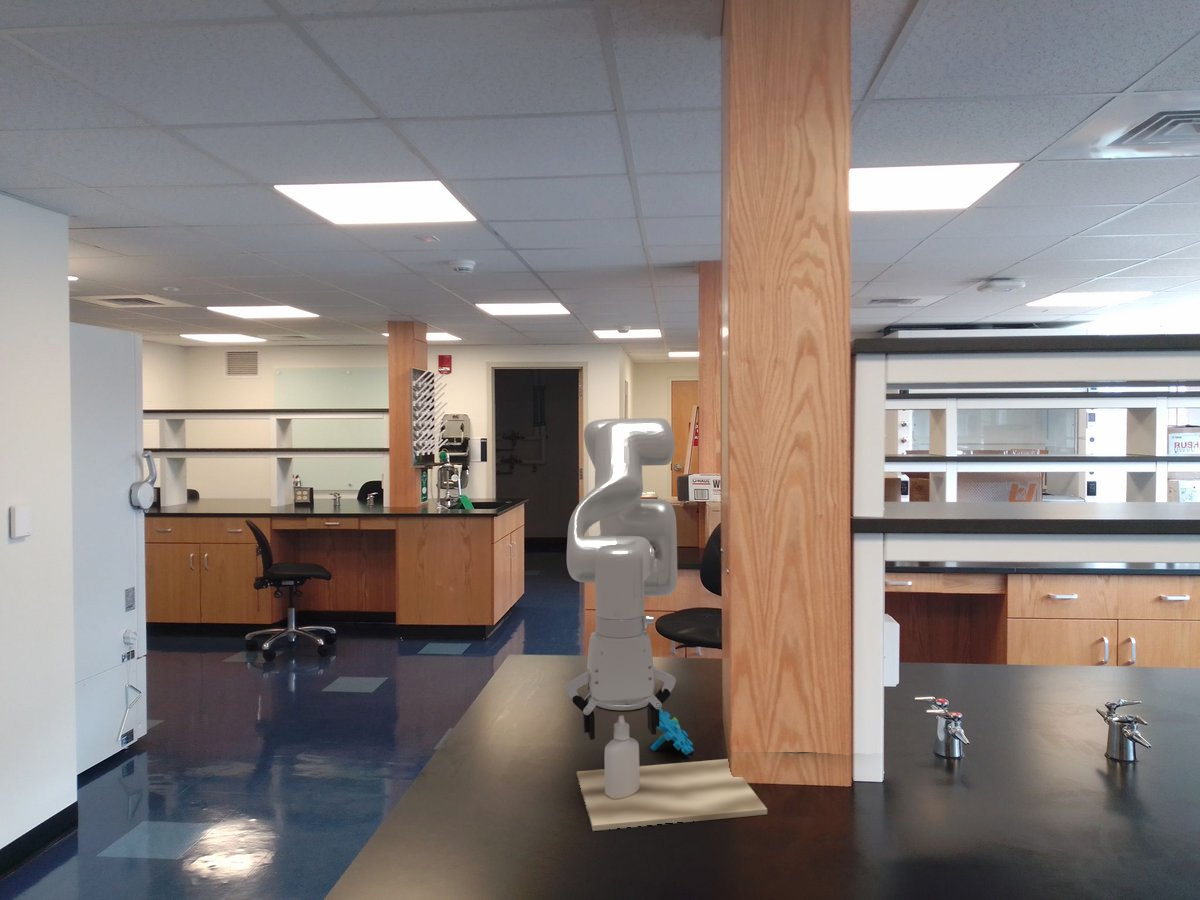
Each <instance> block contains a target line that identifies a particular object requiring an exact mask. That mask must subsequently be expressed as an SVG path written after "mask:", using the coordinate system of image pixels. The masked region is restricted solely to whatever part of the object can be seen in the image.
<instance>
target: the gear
mask: <svg viewBox="0 0 1200 900" xmlns="http://www.w3.org/2000/svg"><path fill="white" fill-rule="evenodd" d="M656 729H657V730H660V731H662V733H661V734H660V736H659V737H658V739H657V740H655V742H653V744H652V745H650V749H651V750H652V751H653V752H656V751H657V750H658V749H659V748H660V746H661V745H663V744H664V743H665V742H666V741H667V742H670V740H672V741H673V742H674V743H673V744H672V746H673V747H674V748H675V749H676V750H677V751H680V750H681V752H682V753H683V754H684V755H686V756H687V755H689V754H690V755H691V754H692V753H693V752H694V748H693V742H692V741H691V740H690V739H689V738H688V737H689V735H688V734H687V732H686V731H685V730H684V729H683V730H682V729H681V725H680V723H679V720H678V719H677V718H676V717H675V716H673V718H672V719H671V715H670V713H669V712H667V711H664V710H663V709H662V707H661V708H660V709H659V727H656Z"/></svg>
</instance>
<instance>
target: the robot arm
mask: <svg viewBox="0 0 1200 900" xmlns="http://www.w3.org/2000/svg"><path fill="white" fill-rule="evenodd" d="M674 436H675V435H674V431H673V428H672V425H671V424H670V423H669V421H668V420H666V419H665V418H657V417H656V418H649V417H648V418H603V419H596V420H593V421H591V422H589V423H587V425H586V426H585V428H584V429H583V439H584V444H585V445H584V446H585V448H586V451H587V454H588V457H589V459H590V461H591V463H592V465H593V468H594V470H595V471H594V488H593V489H591V491H589V492H588V493H587V494H586V495H584V497H583V498H582V499H581V500H580V502H579V503H578V504H577V505H576V507H575V509H574V510H573V511H572V513H571V516H570V519H569V522H568V527H567V542H566V566H567V571H568V574H569V576H570V578H572V580H574V581H576V582H579V583H592V584H593V583H594V588H595V589H594V594H595V597H594V598H595V599H594V600H595V601H594V602H595V605H594V606H595V631H593V632H591V633H590V637H589V641H588V642H589V643H588V649H587V662H586V663H587V668H586V670H587V671H585V672H583V673H581V674H580V675H578V676H576V677H574V678H573V679H571V680H570V681H568V682H566V683H565V685H564V687H565V690H566V692H567V694H568V696H569V698H570V699H571V701H572V702H573V704H574V705H575V706H576V707H577V708H578V709H579V710H580V711H581V712H582V713H583V732H584V733H585V734H586V733H587V734H588V738H589V740H590V741H594V740H595V739H596V728H595V726H596V725H595V713H594V709H595V708H596V707H599V708H601V709H605V710H610V711H611V710H612V711H633V710H634V711H635V710H639V709H644V708H645V707H647V709H646V712H647V728H648V731H649V732H650V734H651V735H652V736H654V735H655V736H656V735H657V727H659V709H660V708H661V709H662V707H663V705H664V704H665V702H666V701H667V700H668V699H669V697H670V696H671V693H672V691H673V690H674V687H675V684H676V683H677V679H676V677H675V676H674V675H672V674H670V673H668V672H666V671H663V670H662V669H659V668H657V667H655V666H654V658H653V657H654V656H653V650H652V644H651V639H650V634H649V631H648V630H647V629H646V628H647V626H648V627H649V626H653V625H654V623H655V620H654V616H653V615H650V616H649V615H647V614H645V597H667V596H671V595H672V594H673V593H675V591H676V589H677V585H678V538H677V535H678V534H677V533H678V532H677V529H678V528H677V518H676V512H675V509H674V507H673V505H672V504H671V503H670V502H669V500H666V499H660V498H649V499H648V498H645V499H644V498H641V497H642V496H643V492H644V487H643V484H644V483H643V466H646V467H647V466H668V465H669V464H671V463H672V460H673V458H674V454H675V444H676V443H675V437H674ZM598 522H599V530H600V535H591V536H590V535H589V536H588V535H586V536H585V534H586V533H587V531H588V529H590V528H591V527H592V526H593V525H594V524H596V523H598ZM654 548H655V549H654ZM655 679H657V680H659V681H662V682H663V685H662V687H661V688H660V689H659V690H658V691H657V692H656V693H655V687H656V686H655V685H656V683H655V681H656V680H655ZM584 685H586V687H587V690H588V693H587V694H586V696H585V698H583V696H581V695H580V694H579V693H578V689H579V688H581V687H583V686H584Z"/></svg>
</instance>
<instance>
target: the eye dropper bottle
mask: <svg viewBox="0 0 1200 900" xmlns="http://www.w3.org/2000/svg"><path fill="white" fill-rule="evenodd" d="M603 757H604V759H603V760H604V769H605V794H606V795H607V796H609V797H611V798H613V799H619V798H624V797H628V796H630V795H633V794H634V793H636V792H637V791H638V790H639V787H640V775H639V766H640V745H639V742H638V741H637V740H636V739H635V738H633V737H630V723H628V722H626V720H625V716H624V715H623V714H620V715H618V720H617V722H615V723H614V724H613V739H611V740H610V741H609V742H608V743H607V744H606V745H605V747H604V756H603Z"/></svg>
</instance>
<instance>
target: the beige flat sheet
mask: <svg viewBox="0 0 1200 900" xmlns="http://www.w3.org/2000/svg"><path fill="white" fill-rule="evenodd" d="M728 759H729V758H723V759H712V760H700V761H688V762H676V763H662V764H654V765H653V764H652V765H639V775H640V787H639V790H638V791H637V792H636V793H634V794H633V795H630V796H628V797H624V798H619V799H613V798H611V797H609V796H607V795H606V794H605V768H604V769H593V770H579V771H576V778H578V779H577V782H578V781H579V782H578V786H579V785H580V786H579V788H581V789H580V792H581V795H583V796H582V799H583V802H585V803H584V806H585V805H586V806H585V809H586V813H587V812H588V813H587V816H588V820H589V823H590V826H591V829H592V832H595V831H607V830H609V829H610V830H618V829H617V828H620V829H628V828H627V827H631V828H639V827H638V826H641V827H648V826H647V825H652V826H658V825H657V824H662V825H666V824H665V823H673V824H678V823H677V822H683V823H692V822H693V821H694V822H701V821H711V820H722V819H732V818H734V819H735V818H744V817H754V816H764V815H768V808H767V807H766V805H765V804H764V803H763V802H762V801H761V799H760V798H759V796H758V795H757V793H755V791H754V790H753V789H752V787H751V786H750V785H749V783H748V782H747V781H746V779H745V778H744V777H743V776H742V777H733V776H732V775H731V772H730V768H729V762H728ZM610 830H609V831H610Z"/></svg>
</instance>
